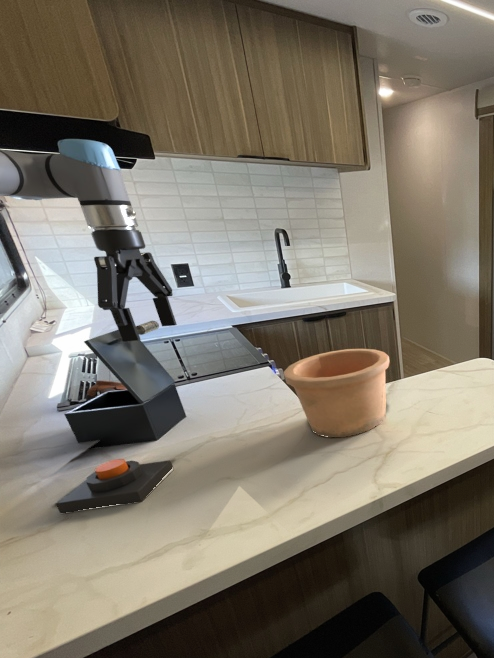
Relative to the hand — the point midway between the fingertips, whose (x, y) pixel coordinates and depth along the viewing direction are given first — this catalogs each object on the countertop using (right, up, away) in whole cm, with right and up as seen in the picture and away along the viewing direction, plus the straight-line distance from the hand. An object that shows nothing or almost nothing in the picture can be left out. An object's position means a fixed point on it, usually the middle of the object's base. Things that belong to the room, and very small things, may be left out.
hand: (152, 332), depth 88 cm
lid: (-6, -7, +1) cm, 9 cm away
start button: (+8, -27, -17) cm, 32 cm away
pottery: (+41, -20, +6) cm, 46 cm away
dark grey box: (-9, -23, +6) cm, 25 cm away
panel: (+8, -30, -16) cm, 35 cm away
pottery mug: (-31, -18, +23) cm, 42 cm away
